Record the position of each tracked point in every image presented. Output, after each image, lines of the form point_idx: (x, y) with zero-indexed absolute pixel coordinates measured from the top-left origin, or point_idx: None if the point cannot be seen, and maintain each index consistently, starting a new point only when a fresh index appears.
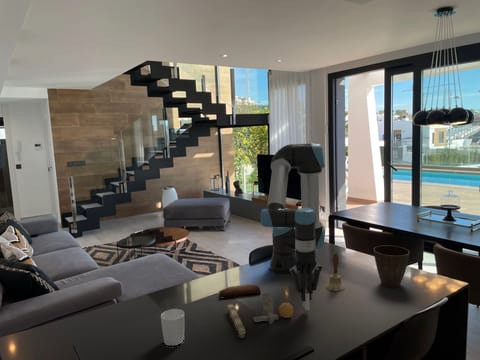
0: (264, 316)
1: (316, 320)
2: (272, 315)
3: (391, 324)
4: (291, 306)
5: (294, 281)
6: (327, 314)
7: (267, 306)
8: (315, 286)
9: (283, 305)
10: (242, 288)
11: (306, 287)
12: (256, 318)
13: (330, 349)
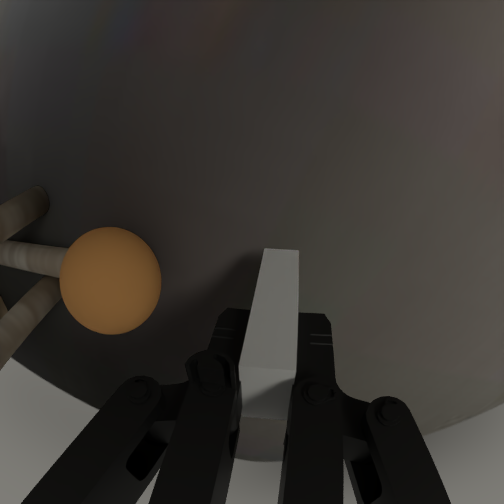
0: (22, 266)
1: None
2: (43, 316)
3: (499, 404)
4: (128, 325)
5: (56, 493)
6: (398, 312)
7: (5, 239)
8: (374, 481)
9: (71, 314)
10: None
11: (290, 420)
12: (2, 263)
13: (244, 450)
